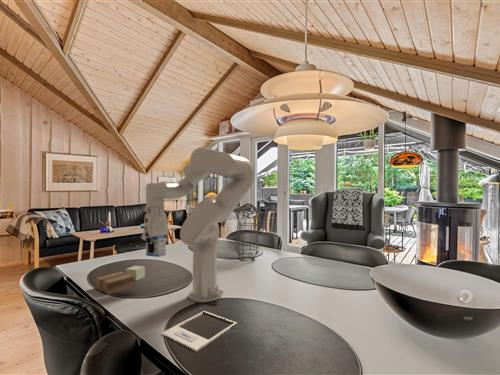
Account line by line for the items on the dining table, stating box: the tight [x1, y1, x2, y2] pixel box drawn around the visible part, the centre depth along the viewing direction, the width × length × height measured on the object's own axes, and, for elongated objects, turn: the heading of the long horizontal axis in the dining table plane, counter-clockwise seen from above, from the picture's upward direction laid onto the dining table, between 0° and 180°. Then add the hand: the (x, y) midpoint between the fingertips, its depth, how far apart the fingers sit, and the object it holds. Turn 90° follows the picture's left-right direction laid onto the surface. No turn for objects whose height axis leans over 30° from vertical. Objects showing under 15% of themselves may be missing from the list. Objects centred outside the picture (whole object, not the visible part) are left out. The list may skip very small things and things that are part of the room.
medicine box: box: [145, 236, 167, 258], centre depth 121 cm, size 8×4×9 cm, turn 62°
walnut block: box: [95, 271, 135, 295], centre depth 118 cm, size 11×11×5 cm
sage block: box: [125, 265, 146, 281], centre depth 131 cm, size 6×6×5 cm
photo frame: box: [161, 310, 238, 352], centre depth 84 cm, size 15×1×18 cm
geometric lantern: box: [233, 202, 264, 262], centre depth 169 cm, size 16×16×35 cm
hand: (156, 250), depth 121 cm, fingers closed on medicine box, 4 cm apart
